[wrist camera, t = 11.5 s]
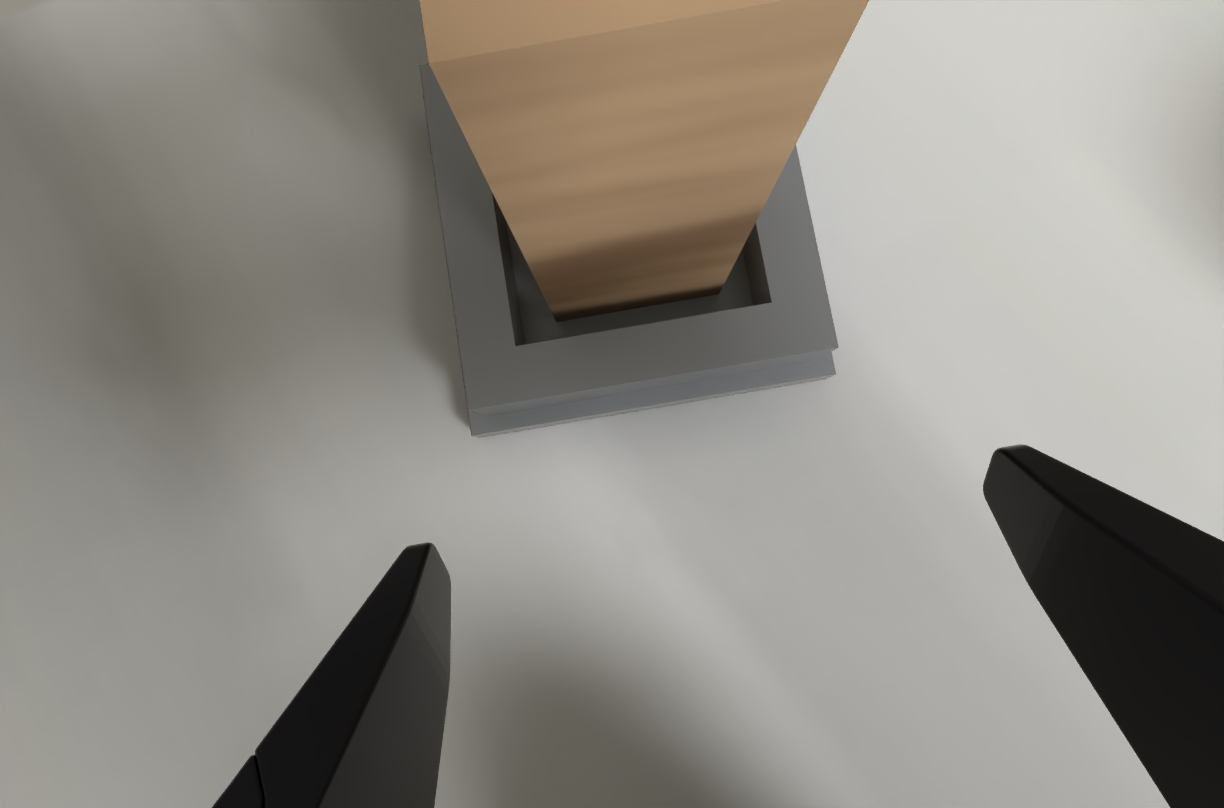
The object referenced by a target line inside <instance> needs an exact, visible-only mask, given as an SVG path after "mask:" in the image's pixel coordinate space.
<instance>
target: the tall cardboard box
mask: <svg viewBox="0 0 1224 808" xmlns="http://www.w3.org/2000/svg"><path fill="white" fill-rule="evenodd" d="M868 2H869V0H420V7H421V14H422V21H423V28H424V35H425V42H426V48H427V55H428V62H429V65H430V67H431V69H432V71H433V73H434V75H435V77H436V79H437V81H438V83H439V85H440V87H441V89H442V91H443V93H444V95H445V97H446V99H447V102H448V104H449V106H450V108H451V110H452V112H453V114H454V116H455V118H456V120H457V122H458V124H459V126H460V128H461V130H462V132H463V134H464V136H465V138H466V140H467V142H468V144H469V146H470V148H471V150H472V152H473V154H474V156H475V158H476V160H477V162H478V164H479V166H480V168H481V170H482V172H483V174H484V176H485V178H486V181H487V183H488V185H489V187H490V189H491V191H492V193H493V195H494V197H495V199H496V201H497V203H498V205H499V207H500V209H501V211H502V213H503V215H504V217H505V219H506V221H507V223H508V225H509V227H510V229H511V231H512V233H513V235H514V237H515V239H516V241H517V243H518V245H519V247H520V249H521V251H522V253H523V255H524V258H525V260H526V262H527V264H528V266H529V268H530V270H531V272H532V274H533V276H534V278H535V280H536V282H537V284H538V286H539V288H540V290H541V292H542V294H543V296H544V298H545V300H546V302H547V304H548V306H549V308H550V310H551V312H552V314H553V316H554V318H555V320H556V322H560V321H566V320H572V319H577V318H583V317H589V316H595V315H601V314H606V313H612V312H618V311H624V310H630V309H635V308H641V307H647V306H653V305H659V304H664V303H670V302H676V301H682V300H688V299H693V298H699V297H705V296H711V295H716V294H719V293H720V291H721V289H722V287H723V285H724V283H725V281H726V279H727V277H728V276H729V274H730V272H731V270H732V268H733V266H734V264H735V262H736V260H737V258H738V256H739V254H740V252H741V250H742V248H743V246H744V244H745V242H746V240H747V238H748V236H749V234H750V233H751V231H752V229H753V227H754V225H755V223H756V221H757V219H758V217H759V215H760V213H761V211H762V209H763V207H764V205H765V203H766V201H767V199H768V197H769V195H770V193H771V191H772V189H773V188H774V186H775V184H776V182H777V180H778V178H779V176H780V174H781V172H782V170H783V168H784V166H785V164H786V162H787V160H788V158H789V156H790V154H791V152H792V150H793V148H794V146H795V144H796V143H797V141H798V139H799V137H800V135H801V133H802V131H803V129H804V127H805V125H806V123H807V121H808V119H809V117H810V115H811V113H812V111H813V109H814V107H815V105H816V103H817V101H818V100H819V98H820V96H821V94H822V92H823V90H824V88H825V86H826V84H827V82H828V80H829V78H830V76H831V74H832V72H833V70H834V68H835V66H836V64H837V62H838V60H839V58H840V56H841V55H842V53H843V51H844V49H845V47H846V45H847V43H848V41H849V39H850V37H851V35H852V33H853V31H854V29H855V27H856V25H857V23H858V21H859V19H860V17H861V15H862V13H863V12H864V10H865V8H866V6H867V4H868Z"/></svg>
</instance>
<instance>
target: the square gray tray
mask: <svg viewBox="0 0 1224 808" xmlns="http://www.w3.org/2000/svg"><path fill="white" fill-rule="evenodd" d="M420 73H421V80H422V87H423V94H424V95H423V97H424V104H425V111H426V118H427V125H428V132H429V139H430V146H431V153H432V160H433V168H434V175H435V182H436V189H437V196H438V203H439V210H440V217H441V224H442V231H443V238H444V245H445V252H446V259H447V266H448V273H449V280H450V287H451V294H452V301H453V308H454V316H455V323H456V330H457V337H458V344H459V351H460V358H461V365H462V372H463V379H464V386H465V393H466V400H467V407H468V414H469V421H470V428H471V435H472V436H475V437H485V436H491V435H497V434H503V433H509V432H515V431H521V430H527V429H533V428H538V427H544V426H550V425H556V424H562V423H568V422H574V421H580V420H586V419H592V418H598V417H604V416H609V415H615V414H621V413H627V412H633V411H639V410H645V409H651V408H657V407H663V406H669V405H675V404H681V403H686V402H692V401H698V400H704V399H710V398H716V397H722V396H728V395H734V394H740V393H746V392H752V391H757V390H763V389H769V388H775V387H781V386H787V385H793V384H799V383H805V382H811V381H817V380H823V379H826V378H829V377H831V376H833V375H835V374H836V372H835V368H834V363H833V358H832V353H831V351H833V350H835V349H837V348H838V343H837V338H836V333H835V329H834V324H833V319H832V314H831V310H830V305H829V300H828V295H827V291H826V286H825V281H824V276H823V272H822V267H821V262H820V257H819V253H818V248H817V243H816V238H815V234H814V229H813V224H812V219H811V215H810V210H809V205H808V201H807V196H806V191H805V186H804V182H803V177H802V172H801V167H800V163H799V158H798V153H797V148H796V144H795V146H794V148H793V150H792V152H791V154H790V156H789V158H788V160H787V162H786V164H785V166H784V168H783V170H782V172H781V174H780V176H779V178H778V180H777V182H776V184H775V186H774V188H773V189H772V191H771V193H770V195H769V197H768V199H767V201H766V203H765V205H764V207H763V209H762V211H761V213H760V215H759V217H758V219H757V221H756V223H755V225H754V227H753V229H752V231H751V233H750V234H749V236H748V238H747V240H746V242H745V244H744V246H743V248H742V250H741V252H740V254H739V256H738V258H737V260H736V262H735V264H734V266H733V268H732V270H731V272H730V274H729V276H728V277H727V279H726V281H725V283H724V285H723V287H722V289H721V291H720V293H719V294H716V295H711V296H705V297H699V298H693V299H688V300H682V301H676V302H670V303H664V304H659V305H653V306H647V307H641V308H635V309H630V310H624V311H618V312H612V313H606V314H601V315H595V316H589V317H583V318H577V319H572V320H566V321H560V322H556V320H555V318H554V316H553V314H552V312H551V310H550V308H549V306H548V304H547V302H546V300H545V298H544V296H543V294H542V292H541V290H540V288H539V286H538V284H537V282H536V280H535V278H534V276H533V274H532V272H531V270H530V268H529V266H528V264H527V262H526V260H525V258H524V255H523V253H522V251H521V249H520V247H519V245H518V243H517V241H516V239H515V237H514V235H513V233H512V231H511V229H510V227H509V225H508V223H507V221H506V219H505V217H504V215H503V213H502V211H501V209H500V207H499V205H498V203H497V201H496V199H495V197H494V195H493V193H492V191H491V189H490V187H489V185H488V183H487V181H486V178H485V176H484V174H483V172H482V170H481V168H480V166H479V164H478V162H477V160H476V158H475V156H474V154H473V152H472V150H471V148H470V146H469V144H468V142H467V140H466V138H465V136H464V134H463V132H462V130H461V128H460V126H459V124H458V122H457V120H456V118H455V116H454V114H453V112H452V110H451V108H450V106H449V104H448V102H447V99H446V97H445V95H444V93H443V91H442V89H441V87H440V85H439V83H438V81H437V79H436V77H435V75H434V73H433V71H432V69H431V67H430V65H429V64H426V65H421V66H420Z"/></svg>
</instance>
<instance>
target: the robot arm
mask: <svg viewBox="0 0 1224 808" xmlns="http://www.w3.org/2000/svg"><path fill="white" fill-rule="evenodd" d="M983 492H984V496H985V499H986V501H987V503H988V505H989V507H990V509H991V511H992V513H993V515H994V517H995V519H996V521H997V524H998V526H999V528H1000V530H1001V532H1002V534H1003V536H1004V538H1005V540H1006V542H1007V544H1008V546H1009V548H1010V550H1011V552H1012V554H1013V556H1014V558H1015V560H1016V562H1017V564H1018V566H1019V568H1020V570H1021V572H1022V574H1023V576H1024V577H1025V579H1026V581H1027V583H1028V585H1029V586H1030V588H1031V590H1032V591H1033V593H1034V595H1035V596H1036V598H1037V599H1038V601H1039V603H1040V604H1041V606H1042V607H1043V609H1044V610H1045V612H1046V614H1047V615H1048V617H1049V618H1050V620H1051V621H1052V623H1053V625H1054V626H1055V628H1056V629H1057V631H1058V632H1059V634H1060V635H1061V637H1062V639H1063V640H1064V642H1065V643H1066V645H1067V646H1068V648H1069V650H1070V651H1071V653H1072V654H1073V656H1074V657H1075V659H1076V661H1077V662H1078V664H1079V665H1080V667H1081V668H1082V670H1083V672H1084V673H1085V675H1086V676H1087V678H1088V679H1089V681H1090V682H1091V684H1092V686H1093V687H1094V689H1095V690H1096V692H1097V693H1098V695H1099V697H1100V698H1101V700H1102V701H1103V703H1104V704H1105V706H1106V708H1107V709H1108V711H1109V712H1110V714H1111V715H1112V717H1113V719H1114V720H1115V722H1116V723H1117V725H1118V726H1119V728H1120V729H1121V731H1122V733H1123V734H1124V736H1125V737H1126V739H1127V740H1128V742H1129V744H1130V745H1131V747H1132V748H1133V750H1134V751H1135V753H1136V755H1137V756H1138V758H1139V759H1140V761H1141V762H1142V764H1143V765H1144V767H1145V769H1146V770H1147V772H1148V773H1149V775H1150V776H1151V778H1152V780H1153V781H1154V783H1155V784H1156V786H1157V787H1158V789H1159V791H1160V792H1161V794H1162V795H1163V797H1164V798H1165V800H1166V802H1167V803H1168V805H1169V806H1170V808H1224V541H1222V540H1220V539H1218V538H1216V537H1214V536H1212V535H1209V534H1207V533H1205V532H1203V531H1201V530H1199V529H1197V528H1195V527H1193V526H1191V525H1189V524H1187V523H1185V522H1183V521H1181V520H1179V519H1177V518H1175V517H1173V516H1171V515H1169V514H1167V513H1165V512H1163V511H1160V510H1158V509H1156V508H1154V507H1152V506H1150V505H1148V504H1146V503H1144V502H1142V501H1140V500H1138V499H1136V498H1134V497H1132V496H1130V495H1128V494H1126V493H1124V492H1122V491H1120V490H1118V489H1116V488H1114V487H1112V486H1109V485H1107V484H1105V483H1103V482H1101V481H1099V480H1097V479H1095V478H1093V477H1091V476H1089V475H1087V474H1085V473H1083V472H1081V471H1079V470H1077V469H1075V468H1073V467H1071V466H1069V465H1067V464H1065V463H1063V462H1060V461H1058V460H1056V459H1054V458H1052V457H1050V456H1048V455H1046V454H1044V453H1042V452H1040V451H1038V450H1036V449H1034V448H1032V447H1030V446H1027V445H1014V446H1008V447H1002V448H999V449H997V450H996V451H995V452H994V453H993V455H992V458H991V461H990V464H989V468H988V471H987V474H986V477H985V480H984V484H983ZM450 639H451V581H450V576H449V573H448V571H447V569H446V567H445V565H444V563H443V561H442V559H441V557H440V555H439V553H438V551H437V549H436V547H435V546H434V545H433V544H432V543H423V544H417V545H411V546H408V547H406V548H405V549H404V550H403V551H402V553H401V554H400V555H399V557H398V558H397V559H396V561H395V562H394V563H393V565H392V566H391V567H390V569H389V570H388V571H387V573H386V574H385V576H384V577H383V578H382V580H381V581H380V582H379V584H378V585H377V586H376V588H375V589H374V590H373V592H372V593H371V594H370V596H369V597H368V598H367V600H366V601H365V603H364V604H363V605H362V607H361V608H360V609H359V611H358V612H357V613H356V615H355V616H354V617H353V619H352V620H351V621H350V623H349V624H348V626H347V627H346V628H345V630H344V631H343V632H342V634H341V635H340V636H339V638H338V639H337V640H336V642H335V643H334V644H333V646H332V647H331V648H330V650H329V651H328V653H327V654H326V655H325V657H324V658H323V659H322V661H321V662H320V663H319V665H318V666H317V667H316V669H315V670H314V671H313V673H312V674H311V676H310V677H309V678H308V680H307V681H306V682H305V684H304V685H303V686H302V688H301V689H300V690H299V692H298V693H297V694H296V696H295V697H294V698H293V700H292V701H291V703H290V704H289V705H288V707H287V708H286V709H285V711H284V712H283V713H282V715H281V716H280V717H279V719H278V720H277V721H276V723H275V724H274V725H273V727H272V728H271V730H270V731H269V732H268V734H267V735H266V736H265V738H264V739H263V740H262V742H261V743H260V744H259V746H258V747H257V748H256V750H255V755H252V756H251V757H250V758H249V759H248V760H247V762H246V763H245V764H244V766H243V767H242V768H241V770H240V771H239V772H238V774H237V775H236V777H235V778H234V779H233V781H232V782H231V783H230V785H229V786H228V787H227V788H226V790H225V791H224V792H223V794H222V795H221V796H220V797H219V799H218V800H217V801H216V803H215V804H214V805H213V807H212V808H434V803H435V795H436V787H437V779H438V771H439V763H440V755H441V747H442V739H443V731H444V723H445V715H446V707H447V699H448V690H449V680H450Z"/></svg>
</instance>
